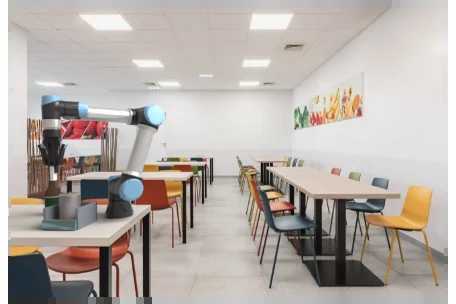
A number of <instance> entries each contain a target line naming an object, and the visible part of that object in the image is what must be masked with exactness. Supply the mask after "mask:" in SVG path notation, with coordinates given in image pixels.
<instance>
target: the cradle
mask: <svg viewBox="0 0 456 304" xmlns="http://www.w3.org/2000/svg"><path fill="white" fill-rule="evenodd" d="M57 218H59V204H57V205H53V206H50V207H46V208H45V207H43V208H42V220H54V219H57ZM75 218H76V220H77V229H76V230H75V231H79V230H81V229H83V228H85V227H87V226H89V225H91V224H93V223H96V222H97V221H98V201H81V207H79V208H76V209H75Z"/></svg>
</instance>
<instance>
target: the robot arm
mask: <svg viewBox="0 0 456 304" xmlns="http://www.w3.org/2000/svg"><path fill="white" fill-rule="evenodd" d="M40 101H41V104H40V107H41V110H40V111H41V128H42V130H41V132H42V134H41V136H42V142H41V143H39V144H37V148H38V150H39V153H40V155H41V159H42V160H41V161H42V163H43V165H44V166H47V169H48V171H47V173H48V174H50V181H54V180H55V181H57V180H58V173H59V167H60V165H63V163H64V158H65V152H66V149H67V147H68V144H67V143H64V142H63V140H62V130H61V128H62V120H65V121H71V120H72V121H73V120H75V121H89V122H90V121H91V122H105V123H106V122H107V123H118V124H119V123H122V124H124V123H125V124H126V125H128V126H136V127H137V128H138V130H137V133H136V137H135V139H134V143H133V147H132V149H131V152H130V155H129V157H128V158H129V159H128V160H127V161H128V162H127V164H126V169H125V170H124V171H122V172H121V174H118V175H117V174H116V175H115V174H114V175H110V176H109V177H108V179H107V180H108V181H107V184H108V185H107V186H108V187H107V189H108V190H107V191H108V193H107V194H108V196H107V197H108V199H107V201H108V202H107V206H106V210H105V214H104V217H105V218H108V219H121V218H128V217H131V216H134V208H133V206H132V204H131V202H132V201H135V200H137V199H139V198H140V197H141V196H142V194H143V191H144V185H143V181H144V176H143V175H142V174H143V171H144V167H145V164H146V160H147V157H148V155H149V154H148V153H149V151H150V147H151V145H152V141H153V137H154V134H156V133H158V130H159V128H160V125H162V124H163V123H164V121H165V118H166V117H165V116H166V115H165V111H164V110H163V108H161V107H160V106H159V105H157V104H148V105H146V106H143V107H138V108H136V107H135V108H127V109H120V108H109V107H98V106H97V107H96V106H89V105H88V103H87V102H84V101H68V100H61V96H59V95H54V94H44V95H42V96H41V100H40Z"/></svg>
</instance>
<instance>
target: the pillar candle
mask: <svg viewBox="0 0 456 304" xmlns="http://www.w3.org/2000/svg"><path fill="white" fill-rule="evenodd" d="M81 202H82V200H81V192H77V191H76V192H72V191H70V192H64V193H59V220H76V218H75V209H76V208H79V207H81Z"/></svg>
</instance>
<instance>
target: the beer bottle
mask: <svg viewBox="0 0 456 304" xmlns="http://www.w3.org/2000/svg"><path fill="white" fill-rule="evenodd" d="M56 184H57V183H56V180H54V181H50V173H48V185H47V188H46V190H45V192H44V208H46V207H50V206H53V205H57V204H59V194H60V191H59V189H58V187H57V185H56Z"/></svg>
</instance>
